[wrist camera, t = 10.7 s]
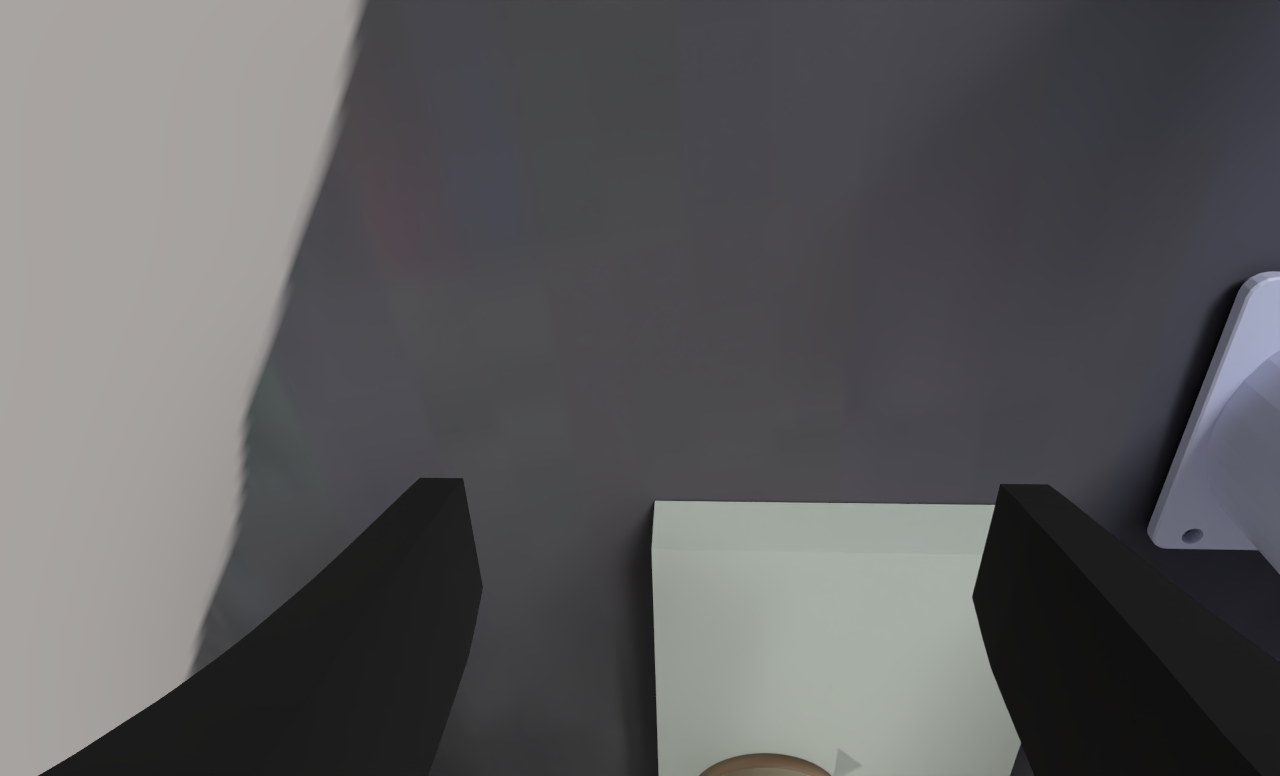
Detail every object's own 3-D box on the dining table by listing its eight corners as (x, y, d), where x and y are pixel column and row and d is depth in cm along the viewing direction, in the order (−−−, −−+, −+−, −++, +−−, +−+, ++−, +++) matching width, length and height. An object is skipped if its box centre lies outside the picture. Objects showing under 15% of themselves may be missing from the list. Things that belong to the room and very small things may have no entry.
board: (1054, 505, 22) (1084, 556, 20) (946, 865, 31) (960, 920, 30) (654, 500, 23) (651, 549, 21) (664, 853, 32) (662, 907, 30)
